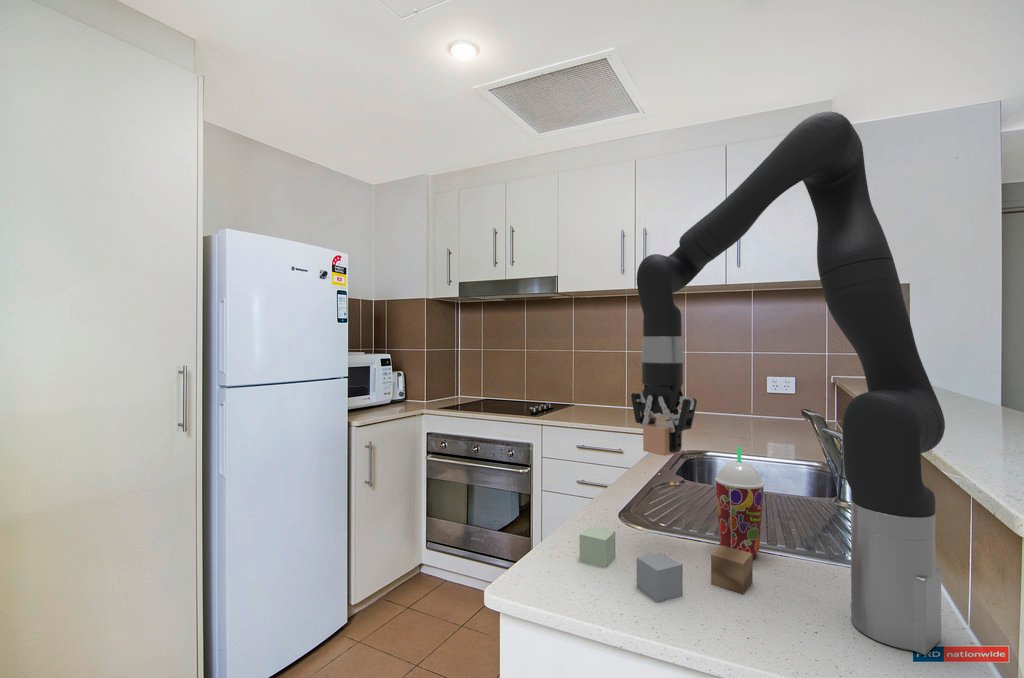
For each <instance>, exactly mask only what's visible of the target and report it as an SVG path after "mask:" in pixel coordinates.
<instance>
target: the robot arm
mask: <svg viewBox="0 0 1024 678" xmlns="http://www.w3.org/2000/svg"><path fill="white" fill-rule="evenodd" d="M863 147H864V146H863V143H862V140H861V138H860V135H859V134H858V133H857V131H856V129H855V128H854V125H853V124H852V123H851V121H850V120H849V119H848V118H847V117H846V116H844V115H843V114H842V113H838V112H837V111H822V112H817V113H815V114H812V115H809V116H808V117H806V118H804V119H803V120H802V121H800V123H798V124H797V125H796V126H795V127H794V128H793V129H792V130H791V131H790V132H789V133H788V134H787V135H786V136H785V137H784V138H783V140H782V141H780V142H779V144H778V145H777V146H776V147H775V148H774V149H773V150H772V151H771V153H770V154H768V156H766V157H765V159H764V160H763V161H762V162H761V163H760V164H759V165H758V166H757V167H756V168H755V169H754V170H753V171H752V172H751V173H750V174H749V175H748V176H747V178H746V179H744V181H742V182H741V183H740V185H738V186H737V187H736V189H734V190H733V191H732V192H731V193H730V194H729V195H728V196H727V197H726V198H725V199H724V200H723V201H721V202H720V203H719V204H718V205H717V206H716V207H715V208H713V209H712V210H711V211H710V212H708V213H707V214H706V215H705V216H704V217H702V218H701V219H700V220H699V221H696V223H694V225H692V226H691V227H690V228H689V229H687V230H686V231H685V232H684V233H683V234H682V236H680V239H679V246H678V247H677V248H676V249H675V250H674V251H673V252H672V253H671V254H670V255H668V256H667V255H664V254H659V253H654V254H650V255H648V256H646V257H645V258H643V259H642V261H641V262H640V263H639V264H638V265H639V266H638V268H637V272H636V288H637V293H638V297H639V302H640V307H641V309H642V315H643V323H642V324H643V325H642V326H643V328H642V329H643V330H642V333H643V334H642V335H643V337H642V347H641V383H642V385H644V387H643V390H642V392H633V393H631V394H630V397H631V404H632V409H633V414H634V419H635V420H634V421H635V422H636V423H637V424H641V425H642V426H643V425H646V424H653V423H657V420H658V418H659V417H660V416H661V415H663V418H664V420H665V421H666V422H667V423H666V424H668V426H669V429H670V433H669V451H670V452H672V453H675V452H679V450H680V449H681V447H682V448H683V445H682V444H681V443H682V442H681V441H683V437H682V436H683V435H682V432H684V431H687V430H691V429H692V426H693V421H694V417H695V413H696V408H697V404H698V401H697V399H696V398H693V397H692V398H689V397H687V396H684V394H683V392H682V386H683V382H684V349H683V341H682V340H683V338H682V332H683V331H682V329H683V328H682V327H683V326H682V313H681V310H680V308H679V307H677V306H676V305H675V302H674V301H675V300H674V293H676V292H678V291H680V290H682V289H683V288H685V287H686V286H687V285H688V284H689V283H691V282H692V280H694V279H695V278H696V276H698V274H700V272H701V271H702V270H703V269H704V267H706V265H707V264H709V263H710V262H711V261H714V260H715V259H716V258H717V257H718V256H721V254H723V252H726V251H727V250H728V249H729V248H731V247H732V246H734V244H735V243H738V241H739V240H740V239H741V238H743V237H744V236H745V234H746V233H748V232H749V230H750V229H751V228H752V226H753V225H754V224H755V223H756V221H757V220H758V219H759V217H760V216H761V215H762V214H763V213H764V211H766V210H767V208H768V207H770V206H771V204H772V203H773V202H774V201H775V200H777V199H778V198H779V197H780V196H781V195H783V194H784V193H785V192H787V191H788V190H790V189H791V188H792V187H794V186H796V185H797V184H799V183H800V182H803V183H804V186H805V188H806V191H807V193H808V196H809V198H810V202H811V204H812V207H813V210H814V213H815V217H816V223H817V239H816V262H817V263H816V264H817V269H818V275H819V276H818V277H819V280H820V284H821V288H822V292H823V296H824V300H825V303H826V306H827V308H828V311H829V313H830V315H831V316H832V318H833V320H834V322H835V324H836V325H837V326H838V328H839V329H840V331H841V332H842V334H843V335H844V336H845V338H846V339H847V341H848V342H849V343H850V344H851V346H852V348H853V349H854V351H855V353H856V355H857V357H858V358H859V361H860V363H861V366H862V370H863V373H864V376H865V377H864V378H865V382H866V387H867V392H863V393H861V394H858V395H856V396H854V397H853V398H852V399H851V401H850V402H848V404H847V406H846V408H845V410H844V413H843V419H842V450H843V451H842V452H843V453H842V454H843V468H844V476H845V480H846V482H847V483H848V486H849V489H850V522H851V523H850V595H851V596H850V611H851V612H850V613H851V614H850V620H851V622H852V624H853V625H854V627H855V628H856V629H857V630H858V631H860V632H861V633H863V634H864V635H865V636H867V637H869V638H871V639H873V640H875V641H877V642H880V643H882V644H885V645H888V646H891V647H894V648H897V649H903V650H908V651H914V652H916V653H919V654H921V655H923V656H924V655H925V656H926V655H927V654H929V652H930V651H931V650H933V648H935V646H937V644H938V643H939V642H940V641H941V640H942V570H941V568H940V567H937V566H936V497H935V494H934V492H933V491H932V489H930V488H929V487H928V486H926V485H925V484H924V482H923V476H922V456H921V454H923V453H927V452H930V451H931V450H933V449H934V448H936V447H937V446H938V445H939V444H940V442H941V441H942V439H943V437H944V434H945V429H946V421H945V416H944V413H943V410H942V407H941V405H940V402H939V400H938V399H939V398H938V396H937V395H936V392H935V390H934V388H933V386H932V383H931V381H930V379H929V376H928V374H927V372H926V370H925V367H924V365H923V361H922V359H921V356H920V353H919V351H918V347H917V344H916V340H915V336H914V332H913V328H912V323H911V320H910V316H909V313H908V310H907V306H906V303H905V299H904V295H903V289H902V286H901V285H902V284H901V281H900V277H899V274H898V271H897V267H896V265H895V261H894V257H893V255H892V251H891V249H890V246H889V242H888V240H887V237H886V234H885V233H884V230H883V228H882V225H881V223H880V220H879V219H878V216H877V215H876V212H875V210H874V207H873V205H872V201H871V198H870V194H869V193H870V191H869V185H868V180H867V174H866V166H865V165H866V164H865V156H864V155H865V154H864V148H863ZM680 409H681V410H680Z"/></svg>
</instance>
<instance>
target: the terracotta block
mask: <svg viewBox="0 0 1024 678" xmlns="http://www.w3.org/2000/svg"><path fill="white" fill-rule="evenodd" d="M642 431H643V433H642V434H643V435H642V438H643V439H642V440H643V441H642V442H643V443H642V451H643V452H647V453H651V454H655V455H659V456H664V457H665V456H666V457H667V456H670V455H671V456H672V455H676V454H681V453H682V450H683V446H682V447H681V449H680V450H679V452H675V453H672V452H670V451H669V433H670V429H669V426H668V423H665V422H656V423H653V424H646V425H642ZM682 441H683V440H682ZM682 441H681V442H682ZM681 444H682V443H681Z"/></svg>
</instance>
